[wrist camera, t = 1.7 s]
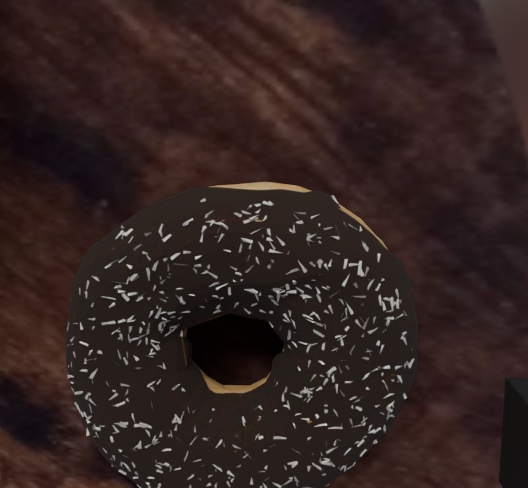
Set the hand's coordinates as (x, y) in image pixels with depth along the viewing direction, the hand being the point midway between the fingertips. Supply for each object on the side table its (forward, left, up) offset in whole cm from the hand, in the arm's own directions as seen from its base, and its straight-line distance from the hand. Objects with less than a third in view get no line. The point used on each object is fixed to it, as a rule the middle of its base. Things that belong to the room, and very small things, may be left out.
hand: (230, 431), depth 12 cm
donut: (0, 0, -7) cm, 7 cm away
